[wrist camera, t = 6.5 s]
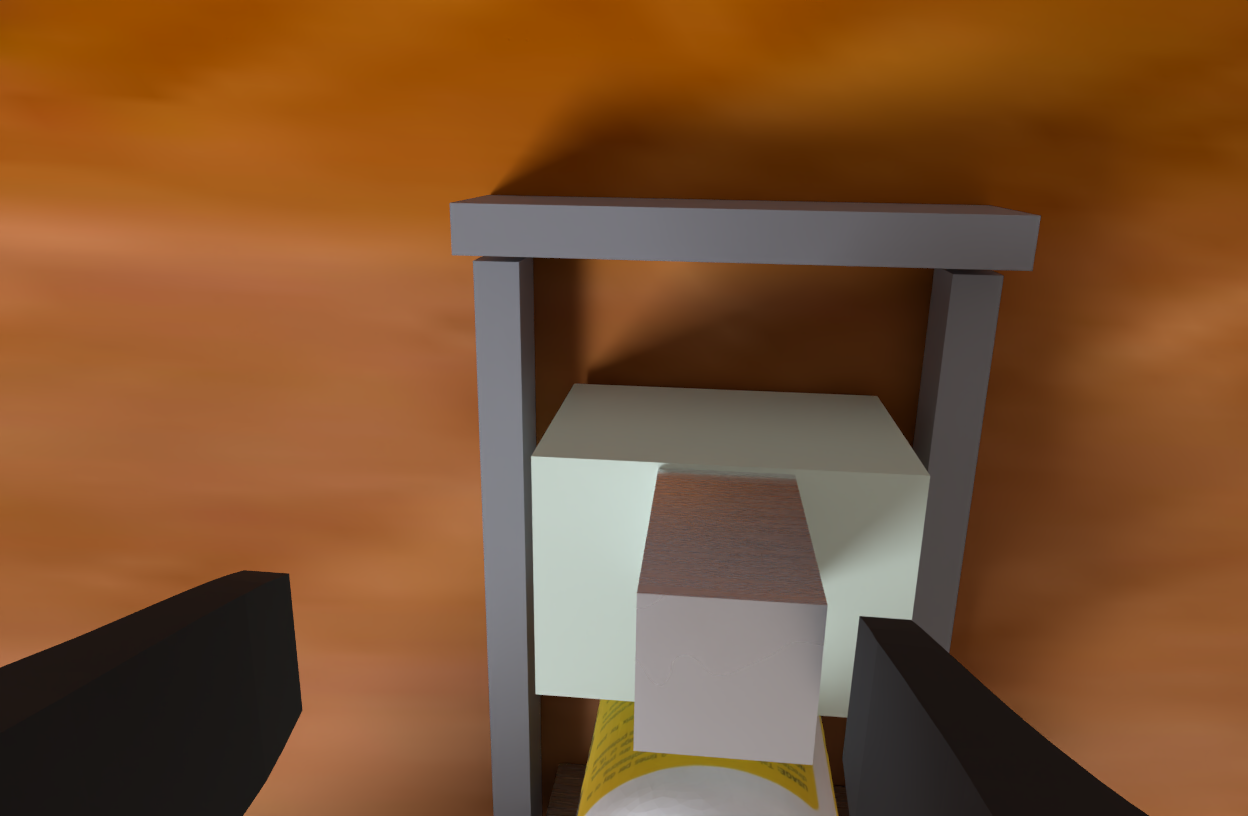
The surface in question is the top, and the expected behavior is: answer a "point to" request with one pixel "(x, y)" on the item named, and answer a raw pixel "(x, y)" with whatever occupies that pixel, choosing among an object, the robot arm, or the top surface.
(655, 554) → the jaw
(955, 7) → the top surface
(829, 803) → the supplement bottle
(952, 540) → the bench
